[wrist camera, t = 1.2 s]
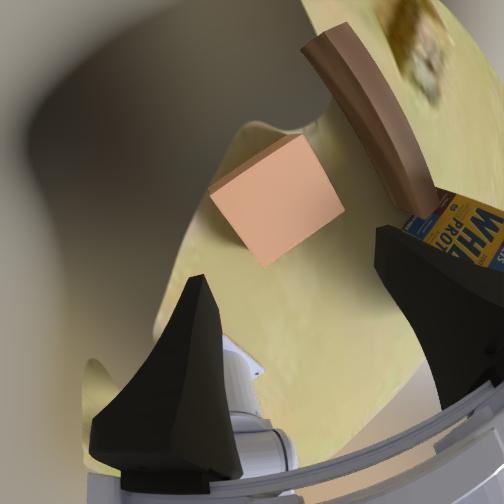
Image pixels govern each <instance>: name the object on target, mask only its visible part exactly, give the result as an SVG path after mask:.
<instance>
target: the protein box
mask: <svg viewBox="0 0 504 504" xmlns="http://www.w3.org/2000/svg"><path fill="white" fill-rule="evenodd" d="M435 189H436V192H437V195H438V198H439V201H440V204H441V205H440V206H439V207H438V208H437V209H436V210H435V211H434V212H433V213H432V214H431V215H430V216H429V217H428V218H427V219H426V220H424V219H421V218H419V217H417V216H415V215H413V216H412V217H411V219H410V220H409V221H408V222H407V224H406V225H405V226H404V228H403V229H402V231H404V232H406V233H408V234H410V235H412V236H414V237H416V238H418V239H420V240H422V241H424V242H426V243H428V244H430V245H432V246H434V247H436V248H438V249H440V250H442V251H445V252H447V253H449V254H451V255H453V256H456V257H458V258H461V259H463V260H466V261H469V262H471V263H474V264H477V265H480V266H483V267H486V268H490V269H493V270H497V271H501V272H504V211H502V210H499V209H497V208H495V207H492V206H489V205H487V204H484V203H482V202H479V201H476V200H474V199H471V198H468V197H465V196H462V195H459V194H456V193H453V192H450V191H447V190H444V189H441V188H437V187H435Z"/></svg>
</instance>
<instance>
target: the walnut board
mask: <svg viewBox="0 0 504 504" xmlns="http://www.w3.org/2000/svg"><path fill="white" fill-rule="evenodd" d="M301 52H302V53H303V54H304V55H305V56H306V58H307V59H308V60H309V62H310V63H311V65H312V66H313V67H314V69H315V70H316V71H317V73H318V74H319V76H320V77H321V79H322V80H323V81H324V83H325V84H326V86H327V87H328V89H329V90H330V92H331V93H332V95H333V96H334V98H335V99H336V101H337V102H338V104H339V105H340V107H341V109H342V110H343V112H344V113H345V115H346V117H347V118H348V120H349V121H350V123H351V125H352V126H353V128H354V130H355V132H356V133H357V135H358V137H359V139H360V140H361V142H362V144H363V146H364V147H365V149H366V151H367V153H368V155H369V157H370V159H371V161H372V162H373V164H374V166H375V168H376V170H377V172H378V174H379V176H380V178H381V180H382V182H383V184H384V186H385V189H386V191H387V193H388V195H389V197H390V199H391V201H392V204H393V206H394V207H396V208H399V209H401V210H403V211H406V212H408V213H410V214H412V215H415V216H417V217H419V218H421V219H424V220H426V219H427V218H428V217H429V216H430V215H431V214H432V213H433V212H434V211H435V210H436V209H437V208H438V207H439V206H440V205H441V204H440V201H439V198H438V195H437V192H436V189H435V186H434V183H433V180H432V178H431V175H430V172H429V169H428V167H427V164H426V162H425V159H424V157H423V154H422V152H421V149H420V147H419V145H418V142H417V140H416V138H415V136H414V133H413V131H412V129H411V127H410V125H409V123H408V121H407V118H406V116H405V114H404V112H403V110H402V108H401V107H400V105H399V103H398V101H397V99H396V97H395V95H394V93H393V92H392V90H391V88H390V86H389V84H388V83H387V81H386V79H385V78H384V76H383V74H382V73H381V71H380V69H379V68H378V66H377V64H376V63H375V61H374V60H373V58H372V57H371V55H370V54H369V52H368V51H367V49H366V48H365V46H364V45H363V43H362V42H361V40H360V39H359V38H358V36H357V35H356V33H355V32H354V31H353V29H352V28H351V27H350V25H349V24H348V23H347V22H345V23H343V24H340V25H338V26H336V27H333V28H331V29H329V30H327V31H324V32H323V33H321V34H320V35H319V36H317V37H316V38H315V39H313V40H312V41H311V42H309V43H308V44H307V45H305V46H304V47H303V48H302V49H301Z"/></svg>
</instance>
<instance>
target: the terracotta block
mask: <svg viewBox="0 0 504 504" xmlns="http://www.w3.org/2000/svg"><path fill="white" fill-rule="evenodd" d="M208 191H209V196H210V197H211V199H212V200H213V201H214V203H215V204H216V205H217V207H218V208H219V210H220V211H221V212H222V214H223V215H224V216H225V218H226V219H227V220H228V222H229V223H230V224H231V226H232V227H233V228H234V230H235V231H236V232H237V234H238V235H239V237H240V238H241V239H242V241H243V242H244V243H245V245H246V246H247V247H248V249H249V250H250V251H251V253H252V254H253V255H254V257H255V258H256V260H257V261H258V262H259V264H260V265H261V266H262V268H264V267H266V266H267V265H269V264H270V263H272V262H273V261H275V260H276V259H277V258H279V257H280V256H282V255H283V254H285V253H286V252H288V251H289V250H290V249H292V248H293V247H295V246H296V245H298V244H299V243H300V242H302V241H303V240H305V239H306V238H308V237H309V236H310V235H312V234H313V233H315V232H316V231H317V230H319V229H320V228H322V227H323V226H325V225H326V224H327V223H329V222H330V221H332V220H333V219H334V218H336V217H337V216H339V215H340V214H341V213H343V212H344V211H345V209H344V207H343V205H342V204H341V202H340V200H339V198H338V196H337V194H336V192H335V190H334V188H333V186H332V184H331V183H330V181H329V179H328V177H327V175H326V173H325V171H324V170H323V168H322V166H321V164H320V163H319V161H318V159H317V157H316V156H315V154H314V152H313V150H312V149H311V147H310V145H309V144H308V142H307V140H306V138H305V137H304V135H303V134H291V135H286V136H284V137H283V138H281V139H280V140H278V141H276V142H275V143H273V144H272V145H270V146H269V147H267V148H265V149H264V150H262V151H261V152H259V153H258V154H256V155H255V156H253V157H252V158H250V159H249V160H247V161H246V162H244V163H243V164H241V165H240V166H238V167H237V168H235V169H234V170H232V171H231V172H230V173H228V174H227V175H225V176H224V177H222V178H221V179H219V180H218V181H217V182H215V183H214V184H212V185H211V186H210V187H208Z"/></svg>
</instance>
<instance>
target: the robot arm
mask: <svg viewBox="0 0 504 504" xmlns="http://www.w3.org/2000/svg"><path fill="white" fill-rule="evenodd" d="M374 267H375V269H376V271H377V273H378V275H379V277H380V279H381V281H382V282H383V284H384V286H385V287H386V289H387V290H388V292H389V293H390V295H391V296H392V298H393V299H394V301H395V302H396V304H397V305H398V306H399V308H400V309H401V311H402V312H403V314H404V315H405V317H406V318H407V320H408V321H409V323H410V325H411V327H412V328H413V330H414V332H415V334H416V336H417V338H418V340H419V342H420V345H421V347H422V349H423V352H424V354H425V356H426V359H427V361H428V364H429V366H430V369H431V372H432V375H433V378H434V381H435V385H436V388H437V392H438V396H439V400H440V404H441V409H442V412H440V413H438V414H436V415H434V416H433V417H431V418H429V419H427V420H425V421H423V422H421V423H420V424H418V425H416V426H414V427H412V428H410V429H408V430H406V431H404V432H401V433H399V434H397V435H395V436H393V437H390V438H388V439H386V440H383V441H381V442H379V443H376V444H374V445H371V446H369V447H366V448H364V449H361V450H358V451H355V452H353V453H350V454H347V455H344V456H341V457H338V458H334V459H331V460H328V461H325V462H321V463H318V464H314V465H310V466H306V467H302V468H298V469H297V455H296V451H295V447H294V445H293V442H292V440H291V439H290V437H289V436H288V435H287V434H286V433H285V432H284V431H283V430H281V429H278V428H277V429H273V428H272V424H271V421H270V419H263V417H262V413H261V409H260V406H259V402H258V398H257V395H256V391H255V387H254V384H253V379H254V378H256V377H258V376H259V375H261V374H262V373H264V371H265V370H264V368H263V367H262V366H261V365H260V364H259V363H257V362H256V361H255V360H254V359H252V358H251V357H250V356H249V355H248V354H246V353H245V352H244V351H243V350H242V349H240V348H239V347H238V346H237V345H236V344H235V343H233V342H232V341H231V340H230V339H229V338H228V337H226V336H225V335H224V334H222V326H221V320H220V314H219V309H218V306H217V304H216V302H215V299H214V297H213V295H212V292H211V290H210V288H209V285H208V283H207V281H206V278H205V276H204V274H201V275H197V276H193V277H189V279H188V280H187V282H186V285H185V287H184V289H183V292H182V294H181V296H180V298H179V301H178V303H177V305H176V307H175V309H174V311H173V313H172V316H171V318H170V320H169V322H168V324H167V325H166V327H165V329H164V331H163V333H162V335H161V337H160V338H159V340H158V342H157V344H156V345H155V347H154V349H153V350H152V352H151V353H150V355H149V357H148V358H147V360H146V361H145V362H144V364H143V365H142V366H141V367H140V369H139V370H138V371H137V373H136V374H135V375H134V377H133V378H132V379H131V380H130V382H129V383H128V384H127V385H126V386H125V387H124V389H123V390H122V391H121V392H120V393H119V394H118V395H117V396H116V397H115V398H114V399H113V400H112V401H111V402H110V403H109V404H108V405H107V406H106V407H105V408H104V409H103V410H102V411H101V412H100V413H99V414H97V415H96V416H95V417H94V418H93V420H92V426H91V434H90V443H89V454H90V455H91V457H93V458H94V459H95V460H97V461H99V462H101V463H104V464H106V465H108V466H110V467H113V468H115V469H118V470H120V471H121V478H120V477H116V476H111V475H103V474H96V473H88V477H87V504H305V503H304V499H303V497H302V496H298V495H296V494H294V489H299V488H303V487H307V486H311V485H315V484H319V483H323V482H326V481H329V480H333V479H336V478H339V477H342V476H346V475H348V474H351V473H354V472H357V471H360V470H363V469H365V468H368V467H370V466H373V465H375V464H378V463H380V462H383V461H385V460H387V459H390V458H392V457H394V456H396V455H399V454H401V453H403V452H405V451H407V450H409V449H411V448H413V447H415V446H417V445H419V444H421V443H423V442H425V441H427V440H428V439H430V438H432V437H433V436H436V435H437V434H439V433H441V432H442V431H444V430H446V429H447V428H449V427H451V426H452V425H454V424H455V423H457V422H459V421H460V420H462V419H463V418H464V417H466V416H468V417H467V420H465V421H464V422H463V423H461V424H460V425H459V426H457V427H456V428H454V429H453V430H452V431H451V432H450V433H449V434H447V435H446V436H445V437H444V438H442V439H441V440H439V441H438V442H436V443H435V444H434V446H433V447H434V449H435V452H436V455H435V456H433V457H432V458H430V459H428V460H426V461H424V462H422V463H420V464H418V465H416V466H414V467H413V468H410V469H408V470H406V471H404V472H402V473H400V474H398V475H396V476H394V477H391V478H389V479H387V480H385V481H382V482H380V483H377V484H375V485H372V486H370V487H367V488H364V489H362V490H359V491H356V492H353V493H350V494H347V495H345V496H341V497H338V498H335V499H331V500H328V501H324V502H321V503H317V504H504V272H501V271H497V270H493V269H490V268H486V267H483V266H480V265H477V264H474V263H471V262H469V261H466V260H463V259H461V258H458V257H456V256H453V255H451V254H449V253H447V252H445V251H442V250H440V249H438V248H436V247H434V246H432V245H430V244H428V243H426V242H424V241H422V240H420V239H418V238H416V237H414V236H412V235H410V234H408V233H406V232H404V231H402V230H400V229H397V228H395V227H393V226H390V225H385V226H382V227H378V228H376V244H375V260H374ZM256 372H258V373H256Z"/></svg>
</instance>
